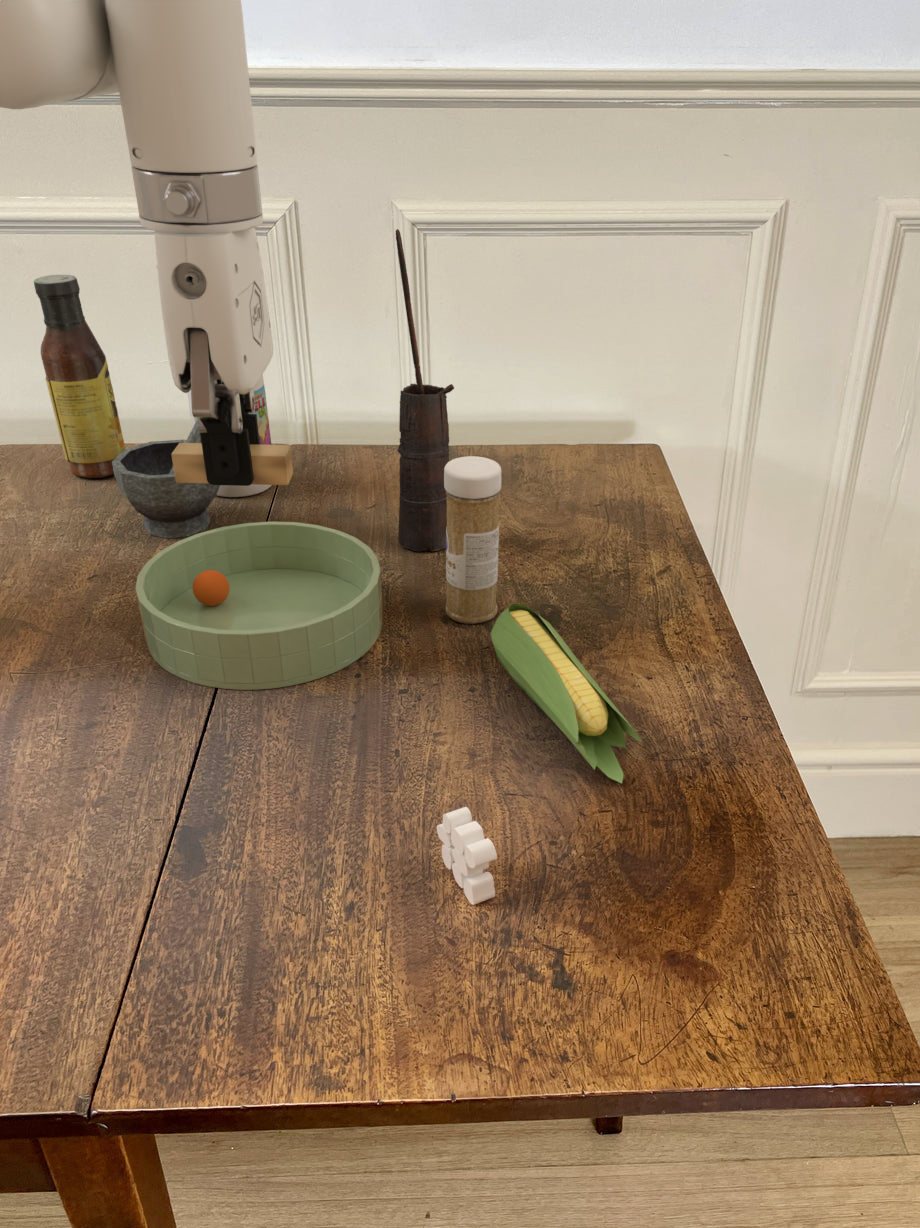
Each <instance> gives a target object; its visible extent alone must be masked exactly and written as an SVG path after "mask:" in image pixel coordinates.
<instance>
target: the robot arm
mask: <svg viewBox="0 0 920 1228" xmlns="http://www.w3.org/2000/svg"><path fill="white" fill-rule="evenodd" d="M249 73H250V72H249V66H248V54H247V43H246V34H245V25H244V14H243V5H242V0H0V108H1V109H2V108H4V109H10V110H27V109H34V108H35V109H36V108H38V107H43V106H47V105H52V104H59V103H66V102H73V101H78V100H83V99H84V100H85V99H89V98H93V97H99V96H107V95H113V94H118V95H119V99H120V105H121V112H122V118H123V122H124V123H123V124H124V130H125V135H126V140H127V147H128V154H129V159H130V160H129V161H130V166H131V171H132V172H131V173H132V179H133V186H134V191H135V197H136V204H137V209H138V218H139V224H140V226H141V228H144V229H146V230H150V231H153V232H154V242H155V255H156V270H157V278H158V288H159V296H160V306H161V307H160V308H161V315H162V322H163V331H164V338H165V345H166V351H167V357H168V361H169V367H170V372H171V376H172V379H173V383H174V386H175V387H176V388H177V389H178V390H179V391H181V392H182V393H184V394H187V393H188V392H189V391H190V390H191V404H192V414H193V416H194V417H196V418H197V420H198V427H199V431H200V436H201V443H202V450H203V457H204V464H205V470H206V477H207V481H208V483H209V484H211V485H232V486H249V485H251V484H252V482H253V480H254V476H253V467H252V459H251V451H250V444H252V445H256V444H259V445H260V440H259V432H258V423H257V414H248V413H254V411H255V398H254V390H253V387H254V386H255V385H256V383H257V382H258V380H259V379H260V377H261V376H262V375H263V374H264V373H265V371H266V370H267V368H268V366H269V364H270V363H271V361H272V359H273V356H274V340H273V333H272V328H271V326H272V325H271V319H270V312H269V304H268V297H267V290H266V285H265V284H266V283H265V278H264V272H263V265H262V258H261V253H260V247H259V241H258V237H257V233H256V232H257V231H256V228H258V227H260V226H262V224H264V215H263V214H264V213H263V205H262V195H261V186H260V175H259V174H260V173H259V165H258V158H257V146H256V138H255V127H254V117H253V104H252V96H251V95H252V94H251V93H252V92H251V87H250V86H251V84H250V75H249ZM221 380H222V381H221Z"/></svg>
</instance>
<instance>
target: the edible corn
mask: <svg viewBox="0 0 920 1228" xmlns="http://www.w3.org/2000/svg"><path fill="white" fill-rule="evenodd" d="M489 634H490V638H491V641H492V645H493V647H494V650H495V656H496V658H497V659H498V661H499V664H501V666H502V667H503V669H504V670H505V671H506V672H507V673H508V675H509V676H510V677H511V678H512V680H514V681H515V683H516V684H517V685H518V686H519V687H520V688H521V689H522V690H523V691H524V693H525V694H526V695H527V696H528V697H529V698H530V699H531V700H532V701H533V702H534V703H535V704H536V706H538V707H539V709H540V710H541V711H542V712H543V713H544V714H545V715H546V716H547V717H548V718H549V719H550V720H551V722H552V723H553V724H554V725H555V726H556V727H557V728H558V729H559V730H560V731H561V732H562V733H563V734H564V735H565V736H566V737H567V739H568V740H569V741H570V742H571V744H572V745H573V746H574V747H575V748H576V750H577V751H578V752H579V753H580V755H582V757H583V758H584V760H586V762H587V763H588V765H589V766H591V768H592V769H593V770H594V771H595V770H596V768H598V769H599V770H600V771H601V772H602V773H603V774H604V775H605V776H606V777H607V778H609V779H611V780H613V781H616V782H618V783H620V784H623V781H624V776H625V775H624V772H623V769H622V768H621V765H620V763H619V761H618V758H617V755H616V754H615V752H614V750H613V748H612V747H617V748H618V747H619V748H626V749H627V742H626V736H625V735H626V734H627V735H628V736H630V737H632V738H633V739H634V740H636V741H638V742H644V741H643V739H642V738H641V737H640V735H639V734H638V733H637V732H636V730H635V728H634V727H633V726H632V725H631V724H630V722H629V721H628V720H627V719H626V717H625V716H624V715H623V714H622V713H621V712H620V711H619V709H618V708H617V706H615V704H614V703H613V702H612V700H610V698H609V697H608V696H607V694H606V693H605V692H604V691H603V689H602V688H601V687H600V686H599V685H598V683H597V682H596V681H595V680H594V678H593V676H591V674H590V673H589V671H587V669H586V668H585V667H584V665H583V664H582V663H581V661H580V660H579V659H578V657H576V655H575V654H574V652H573V651H572V650H571V649H570V647H569V646H568V644H567V643H566V642H565V640H564V639H563V638H562V637H561V635H560V634H559V632H557V630H556V629H555V628H554V627H553V625H552V624H551V623H550V622H549V621H548V620H546V619H545V618H543V617H542V616H541V615H540V614H538V613H537V612H535V610H533V609H532V608H531V607H529V606H528V605H527V606H526V605H525V604H523V603H519V602H515V603H511V604H509V605H508V607H507V608H506V609H505V610H503V611H502V612H501V613H500V615H499V616H498V617H497V618H496V621H495V622H494V625H493V626H492V629H491V631H490V633H489ZM611 746H612V747H611Z"/></svg>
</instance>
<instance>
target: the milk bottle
mask: <svg viewBox="0 0 920 1228" xmlns="http://www.w3.org/2000/svg"><path fill="white" fill-rule="evenodd" d="M221 381H222V380H221ZM265 388H266V387H265V381H264V375H263V374H262V376H261V377H260V379H259V380H258V382H257V383H256V385H255V386H254V387H253V390H254V398H255V411H254V413H248V414H257V423H258V432H259V440H260V445H272V439H271V438H272V437H271V430H270V428H271V427H270V421H269V420H270V419H269V412H268V401H267V395H266V394H267V393H266V389H265ZM186 394H187V400H188V401H187V402H188V408H189V415H190V423H191V430H192V429H193V427H194V425H195V423H196V421H197V418H196V417H194V416H193V414H192V404H191V390H190V391H189V392H188V393H186ZM271 487H272V485H258V484H251V485H249V486H232V485H220V487H219V490H218V492H217V495H216V496H218V497H225V498H239V497H240V498H241V497H249V496H254V495H257V494H260V493H263V492H265V491H267V490H269V489H270V488H271Z"/></svg>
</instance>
